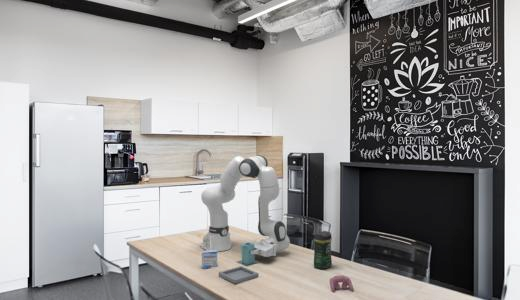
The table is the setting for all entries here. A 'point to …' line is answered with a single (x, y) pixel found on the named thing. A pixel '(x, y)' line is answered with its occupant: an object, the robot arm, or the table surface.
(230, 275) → the tray
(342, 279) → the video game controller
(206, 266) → the medicine box
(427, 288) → the table surface
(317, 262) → the coffee jar
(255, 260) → the stand
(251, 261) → the tabbed sleeve
